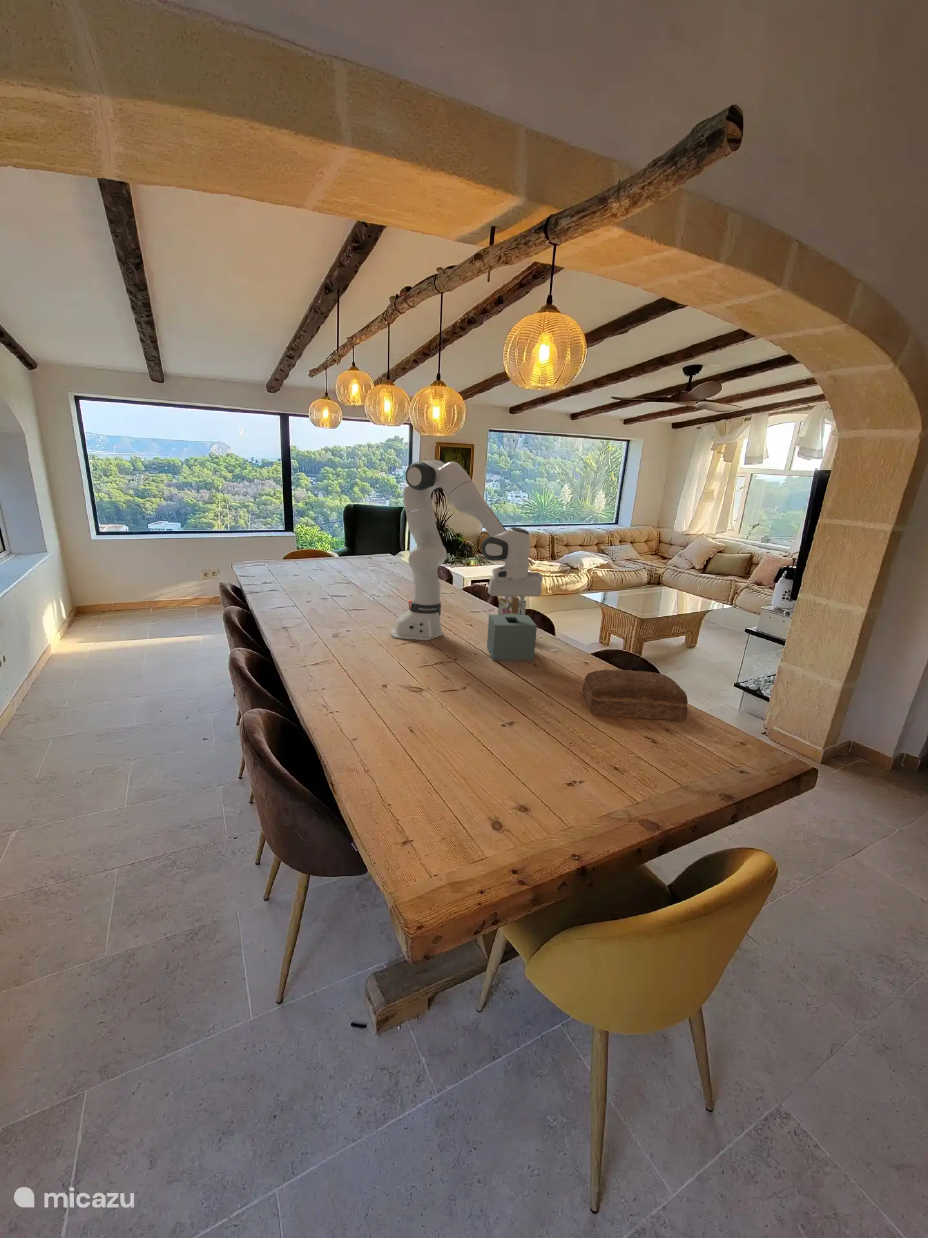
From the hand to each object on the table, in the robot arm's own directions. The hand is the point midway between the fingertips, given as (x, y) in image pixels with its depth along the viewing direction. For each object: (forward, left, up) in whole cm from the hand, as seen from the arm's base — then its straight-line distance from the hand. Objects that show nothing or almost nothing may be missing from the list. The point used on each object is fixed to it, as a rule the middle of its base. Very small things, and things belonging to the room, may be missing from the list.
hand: (513, 607), depth 188 cm
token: (0, 0, -2) cm, 2 cm away
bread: (+30, -46, -20) cm, 58 cm away
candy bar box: (+5, +24, -19) cm, 31 cm away
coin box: (0, 0, -19) cm, 19 cm away
